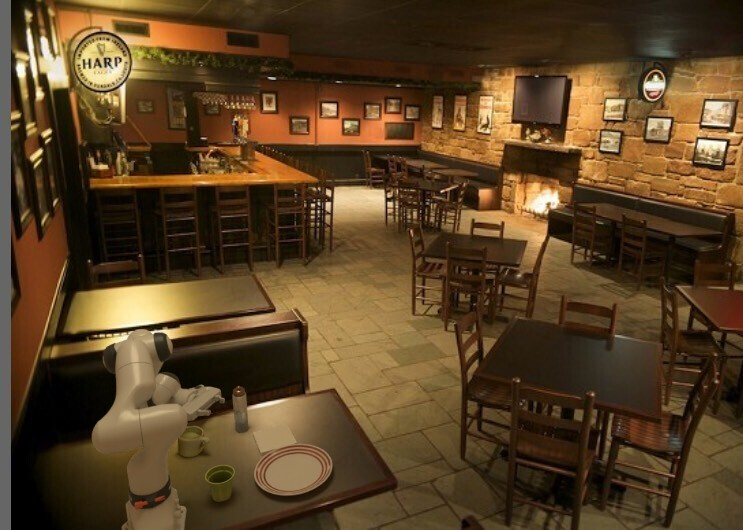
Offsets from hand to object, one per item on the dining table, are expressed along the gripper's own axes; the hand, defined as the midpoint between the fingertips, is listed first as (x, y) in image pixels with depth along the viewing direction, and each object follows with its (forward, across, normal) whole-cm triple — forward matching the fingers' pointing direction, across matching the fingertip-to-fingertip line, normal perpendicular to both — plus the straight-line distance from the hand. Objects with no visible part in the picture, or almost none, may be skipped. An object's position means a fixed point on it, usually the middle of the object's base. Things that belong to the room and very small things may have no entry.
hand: (217, 407), depth 208 cm
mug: (+3, -18, +8) cm, 20 cm away
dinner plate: (+44, -17, +8) cm, 48 cm away
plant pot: (+26, -34, +8) cm, 44 cm away
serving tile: (+27, -2, +8) cm, 29 cm away
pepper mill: (+11, 0, +8) cm, 14 cm away
